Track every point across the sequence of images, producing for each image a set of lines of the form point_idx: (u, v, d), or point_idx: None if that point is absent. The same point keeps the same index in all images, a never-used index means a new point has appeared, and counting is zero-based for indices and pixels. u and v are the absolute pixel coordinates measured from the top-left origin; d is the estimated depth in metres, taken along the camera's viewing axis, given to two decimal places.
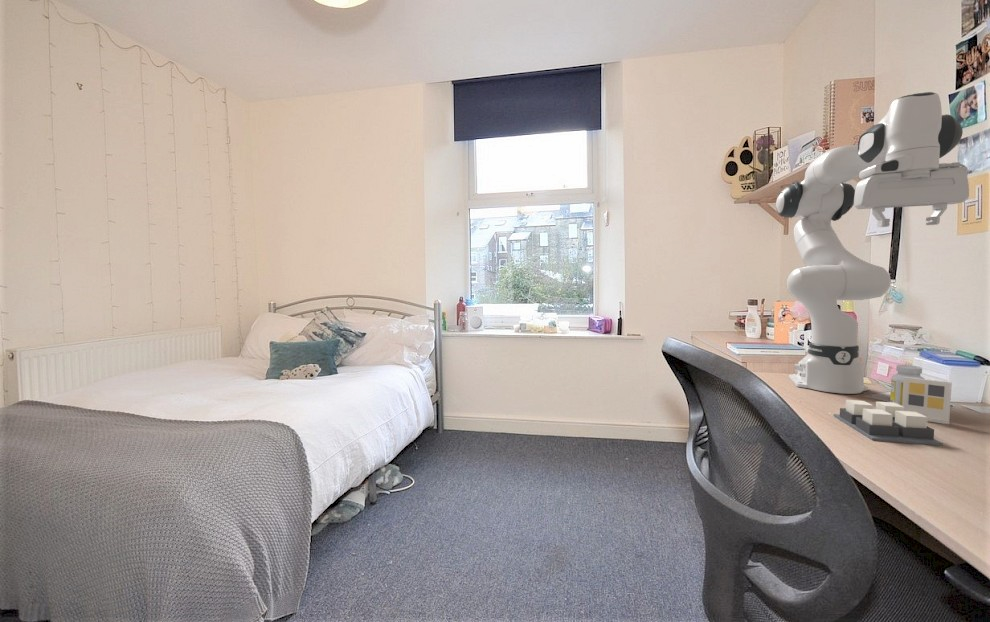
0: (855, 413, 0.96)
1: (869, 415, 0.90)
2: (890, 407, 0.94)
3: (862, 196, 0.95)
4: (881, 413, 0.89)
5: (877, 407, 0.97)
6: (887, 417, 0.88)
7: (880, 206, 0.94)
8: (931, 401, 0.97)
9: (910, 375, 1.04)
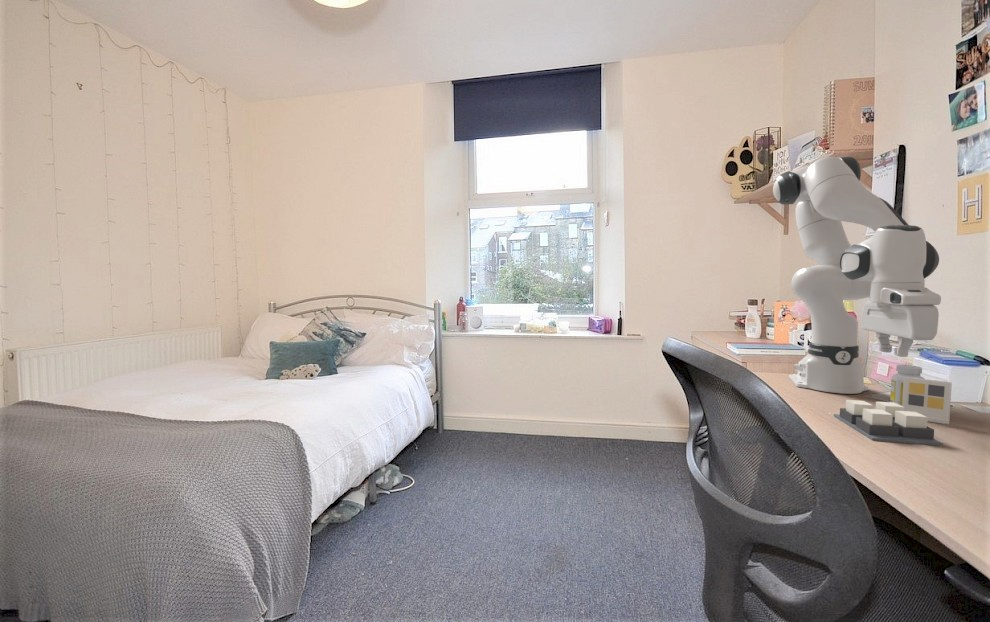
0: (855, 413, 0.96)
1: (869, 415, 0.90)
2: (890, 407, 0.94)
3: (934, 328, 0.84)
4: (881, 413, 0.89)
5: (877, 407, 0.97)
6: (887, 417, 0.88)
7: None
8: (931, 401, 0.97)
9: (910, 375, 1.04)
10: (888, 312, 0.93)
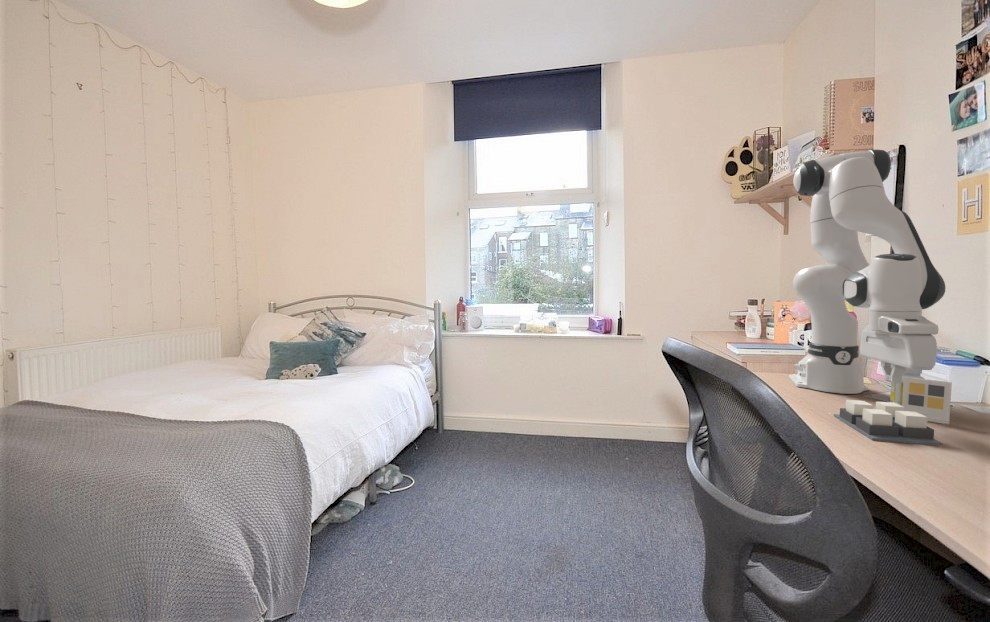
0: (855, 413, 0.96)
1: (869, 415, 0.90)
2: (890, 407, 0.94)
3: (933, 358, 0.84)
4: (881, 413, 0.89)
5: (877, 407, 0.97)
6: (887, 417, 0.88)
7: None
8: (931, 401, 0.97)
9: (910, 375, 1.04)
10: (886, 340, 0.94)
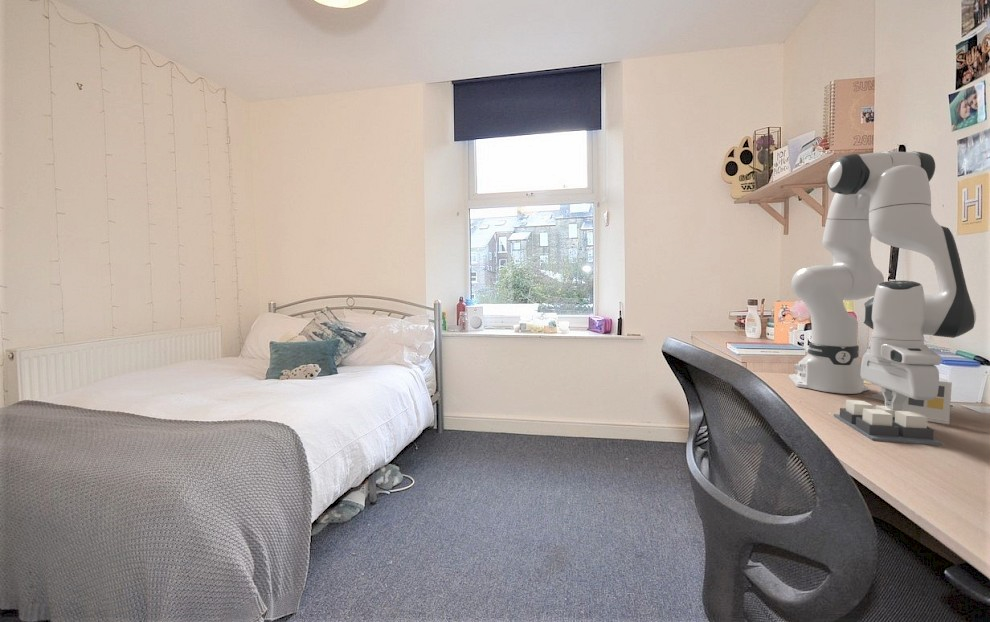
0: (855, 413, 0.96)
1: (869, 415, 0.90)
2: (890, 411, 0.94)
3: (935, 389, 0.84)
4: (881, 413, 0.89)
5: None
6: (887, 417, 0.88)
7: None
8: (931, 401, 0.97)
9: None
10: (888, 367, 0.94)
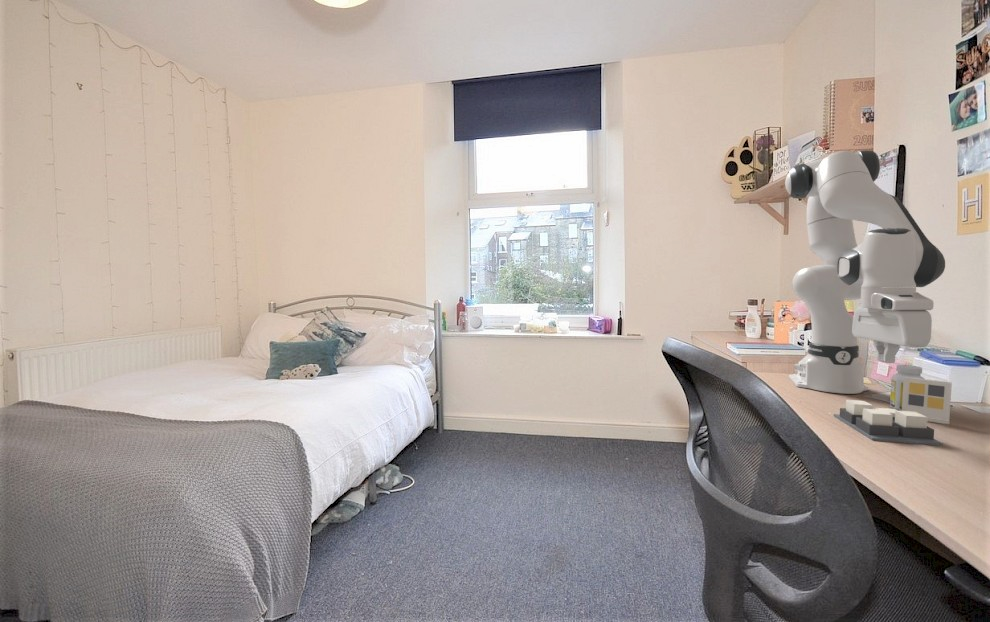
0: (855, 413, 0.96)
1: (869, 415, 0.90)
2: (890, 413, 0.94)
3: (928, 334, 0.80)
4: (881, 413, 0.89)
5: None
6: (887, 417, 0.88)
7: None
8: (931, 401, 0.97)
9: (910, 375, 1.04)
10: (879, 318, 0.90)
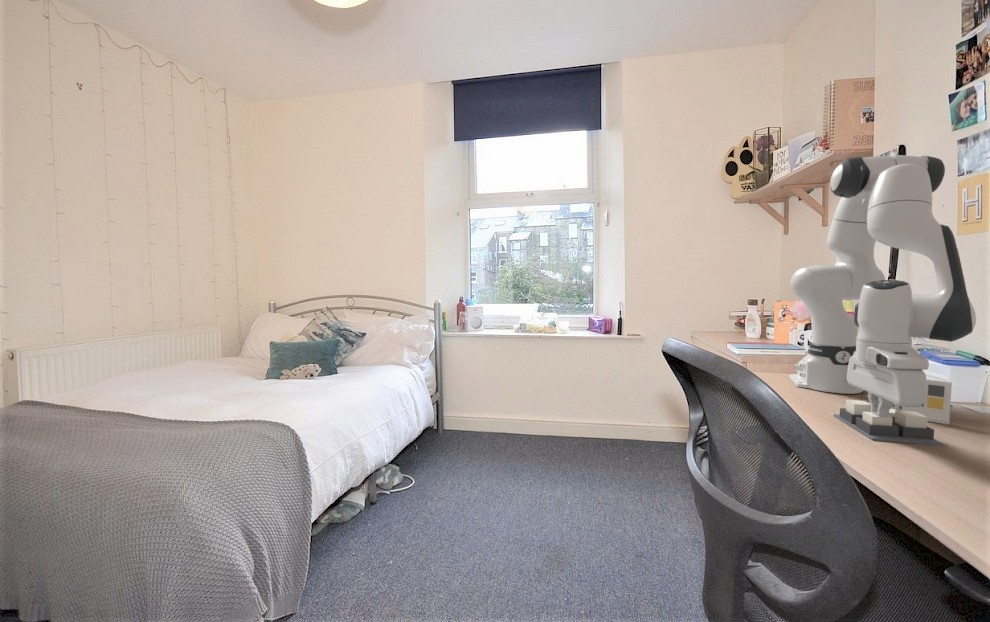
0: (855, 413, 0.96)
1: (869, 418, 0.90)
2: (890, 413, 0.94)
3: (922, 395, 0.79)
4: None
5: None
6: (887, 420, 0.88)
7: None
8: (931, 401, 0.97)
9: None
10: (874, 371, 0.89)
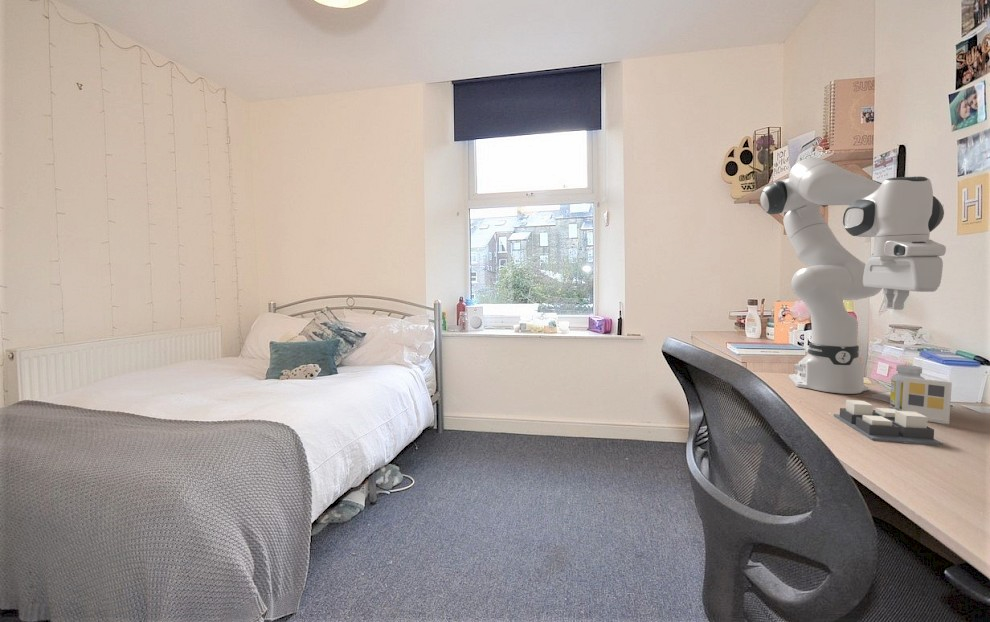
0: (855, 413, 0.96)
1: (869, 422, 0.90)
2: (890, 413, 0.94)
3: (938, 279, 0.82)
4: (881, 420, 0.89)
5: None
6: (887, 424, 0.88)
7: None
8: (931, 401, 0.97)
9: (910, 375, 1.04)
10: (891, 266, 0.92)
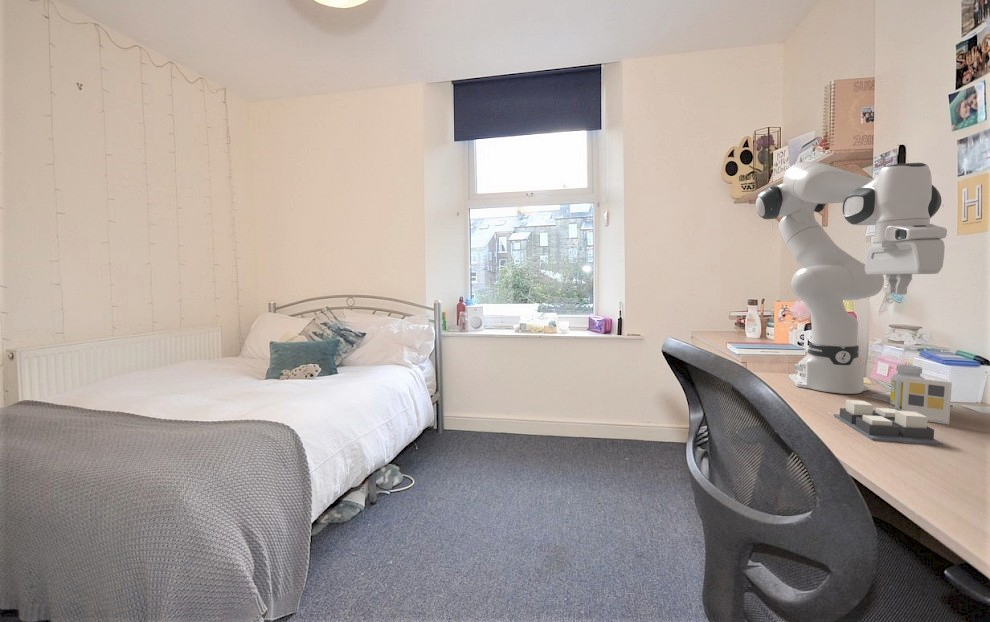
0: (855, 413, 0.96)
1: (869, 422, 0.90)
2: (890, 413, 0.94)
3: (940, 261, 0.83)
4: (881, 420, 0.89)
5: None
6: (887, 424, 0.88)
7: None
8: (931, 401, 0.97)
9: (910, 375, 1.04)
10: (893, 252, 0.93)
